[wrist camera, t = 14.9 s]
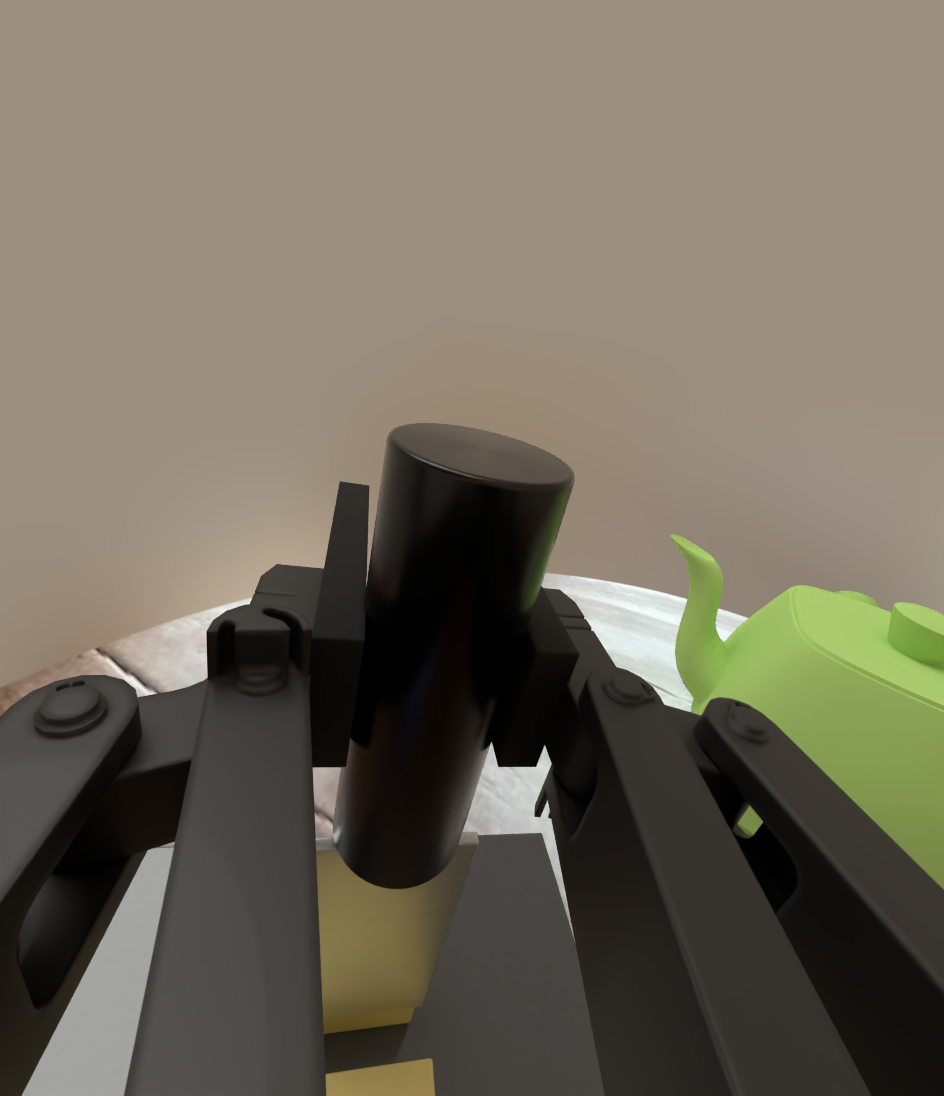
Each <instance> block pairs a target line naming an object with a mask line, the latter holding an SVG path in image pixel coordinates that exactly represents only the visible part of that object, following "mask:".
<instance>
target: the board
mask: <svg viewBox="0 0 944 1096" xmlns="http://www.w3.org/2000/svg"><path fill="white" fill-rule="evenodd" d="M478 840H479V845H478V848H477V851H476V854H475V857H474V859H473V862H472V865H471V868H470V871H469V874H468V877H467V879H466V882H465V885H464V888H463V891H462V894H461V897H460V900H459V902H458V905H457V908H456V911H455V914H454V917H453V920H452V922H451V925H450V928H449V931H448V934H447V937H446V940H445V943H444V945H443V948H442V951H441V954H440V957H439V960H438V963H437V965H436V968H435V971H434V974H433V977H432V980H431V983H430V986H429V988H428V991H427V994H426V997H425V1000H424V1003H423V1006H421V1007H415V1008H414V1011H413V1014H412V1017H411V1020H410V1022H409V1023H403V1024H396V1025H388V1026H381V1027H373V1028H365V1029H358V1030H350V1031H343V1032H335V1033H328V1034H324V1049H325V1073H326V1074H329V1073H336V1072H342V1071H349V1070H356V1069H362V1068H369V1067H375V1066H382V1065H388V1064H395V1063H401V1062H408V1061H415V1060H421V1059H428V1058H430V1059H432V1061H433V1073H434V1086H435V1096H605V1094H604V1089H603V1084H602V1079H601V1073H600V1068H599V1063H598V1058H597V1053H596V1047H595V1042H594V1037H593V1032H592V1027H591V1021H590V1016H589V1011H588V1006H587V1001H586V996H585V990H584V985H583V980H582V975H581V970H580V964H579V959H578V954H577V949H576V944H575V941H574V938H573V934H572V931H571V928H570V925H569V921H568V918H567V915H566V911H565V908H564V905H563V902H562V898H561V895H560V892H559V888H558V885H557V882H556V879H555V875H554V872H553V869H552V865H551V862H550V859H549V856H548V852H547V849H546V846H545V842H544V839H543V836H542V833H528V834H501V835H478ZM173 850H174V847H156V848H153V849H150V850H148V851H147V853H146V855H145V857H144V859H143V861H142V863H141V865H140V866H139V868H138V870H137V872H136V874H135V876H134V878H133V880H132V882H131V884H130V886H129V888H128V890H127V892H126V894H125V896H124V898H123V900H122V901H121V903H120V905H119V907H118V909H117V911H116V913H115V915H114V917H113V919H112V921H111V923H110V925H109V927H108V929H107V931H106V933H105V935H104V937H103V938H102V940H101V942H100V944H99V946H98V948H97V950H96V952H95V954H94V956H93V958H92V960H91V962H90V964H89V966H88V968H87V970H86V972H85V974H84V975H83V977H82V979H81V981H80V983H79V985H78V987H77V989H76V991H75V993H74V995H73V997H72V999H71V1001H70V1003H69V1005H68V1007H67V1009H66V1011H65V1012H64V1014H63V1016H62V1018H61V1020H60V1022H59V1024H58V1026H57V1028H56V1030H55V1032H54V1034H53V1036H52V1038H51V1040H50V1042H49V1044H48V1046H47V1048H46V1049H45V1051H44V1053H43V1055H42V1057H41V1059H40V1061H39V1063H38V1065H37V1067H36V1069H35V1071H34V1073H33V1075H32V1077H31V1079H30V1081H29V1083H28V1085H27V1086H26V1088H25V1090H24V1092H23V1094H22V1096H124V1092H125V1087H126V1082H127V1077H128V1072H129V1067H130V1062H131V1057H132V1053H133V1048H134V1043H135V1038H136V1033H137V1028H138V1023H139V1018H140V1013H141V1008H142V1003H143V998H144V993H145V988H146V983H147V978H148V973H149V968H150V963H151V959H152V954H153V949H154V944H155V939H156V934H157V929H158V924H159V919H160V914H161V909H162V904H163V899H164V894H165V889H166V884H167V879H168V874H169V869H170V865H171V860H172V855H173Z"/></svg>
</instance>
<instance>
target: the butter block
mask: <svg viewBox="0 0 944 1096" xmlns="http://www.w3.org/2000/svg"><path fill="white" fill-rule="evenodd" d="M326 1096H435V1086H434V1073H433V1061H432V1059H430V1058H428V1059H421V1060H415V1061H408V1062H401V1063H395V1064H388V1065H382V1066H375V1067H369V1068H362V1069H356V1070H349V1071H342V1072H336V1073H329V1074H326Z"/></svg>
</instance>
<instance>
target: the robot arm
mask: <svg viewBox="0 0 944 1096" xmlns="http://www.w3.org/2000/svg"><path fill="white" fill-rule="evenodd" d="M368 510H369V486H368V485H361V484H354V483H347V482H340V484H339V489H338V495H337V500H336V506H335V511H334V517H333V522H332V528H331V533H330V539H329V544H328V550H327V555H326V561H325V566H324V569H321V568H310V567H300V566H289V565H280V564H277V565H275V566H274V567H273V568H271V569H270V570H269V571H268V572H266V573H265V574H263V575H262V576H261V578H260V580H259V583H258V586H257V588H256V590H255V594H254V595H253V598H252V600H251V603H250V604H249V605H243V606H240V607H237V608H234V609H231V610H228V611H226V612H224V613H223V614H222V615H220V616H219V617H217V618H216V619H214V620H213V622H212V623H211V625H210V627H209V628H208V630H207V668H208V678H207V679H205V680H204V681H202V682H199V683H197V684H194V685H192V686H190V687H187V688H183V689H179V690H175V691H170V692H165V693H159V694H154V695H148V696H143V697H137V694H136V690H135V689H134V688H133V687H132V686H131V685H129V684H128V683H127V682H126V681H124V680H122V679H118V678H114V677H111V676H107V675H81V676H77V677H72V678H68V679H64V680H59V681H55V682H53V683H50V684H48V685H46V686H44V687H41V688H39V689H37V690H34V691H32V692H30V693H29V694H27V695H26V696H25V697H23V698H22V699H21V700H19V701H18V702H16V703H15V704H14V705H12V706H11V707H10V708H9V709H8V710H7V711H6V712H5V713H4V714H2V715H1V716H0V1096H22V1094H23V1092H24V1090H25V1088H26V1086H27V1085H28V1083H29V1081H30V1079H31V1077H32V1075H33V1073H34V1071H35V1069H36V1067H37V1065H38V1063H39V1061H40V1059H41V1057H42V1055H43V1053H44V1051H45V1049H46V1048H47V1046H48V1044H49V1042H50V1040H51V1038H52V1036H53V1034H54V1032H55V1030H56V1028H57V1026H58V1024H59V1022H60V1020H61V1018H62V1016H63V1014H64V1012H65V1011H66V1009H67V1007H68V1005H69V1003H70V1001H71V999H72V997H73V995H74V993H75V991H76V989H77V987H78V985H79V983H80V981H81V979H82V977H83V975H84V974H85V972H86V970H87V968H88V966H89V964H90V962H91V960H92V958H93V956H94V954H95V952H96V950H97V948H98V946H99V944H100V942H101V940H102V938H103V937H104V935H105V933H106V931H107V929H108V927H109V925H110V923H111V921H112V919H113V917H114V915H115V913H116V911H117V909H118V907H119V905H120V903H121V901H122V900H123V898H124V896H125V894H126V892H127V890H128V888H129V886H130V884H131V882H132V880H133V878H134V876H135V874H136V872H137V870H138V868H139V866H140V865H141V863H142V861H143V859H144V857H145V855H146V853H147V851H148V850H150V849H153V848H156V847H159V846H162V845H165V844H168V843H171V842H175V845H174V850H173V855H172V860H171V865H170V869H169V874H168V879H167V884H166V889H165V894H164V899H163V904H162V909H161V914H160V919H159V924H158V929H157V934H156V939H155V944H154V949H153V954H152V959H151V963H150V968H149V973H148V978H147V983H146V988H145V993H144V998H143V1003H142V1008H141V1013H140V1018H139V1023H138V1028H137V1033H136V1038H135V1043H134V1048H133V1053H132V1057H131V1062H130V1067H129V1072H128V1077H127V1082H126V1087H125V1092H124V1096H326V1073H325V1049H324V1026H323V1003H322V979H321V956H320V932H319V909H318V885H317V862H316V838H315V815H314V791H313V768H312V767H346V765H347V758H348V751H349V744H350V737H351V731H352V724H353V717H354V710H355V703H356V697H357V690H358V683H359V676H360V669H361V662H362V656H363V649H364V642H365V610H364V600H365V593H366V578H367V544H368ZM492 744H493V748H494V752H495V756H496V760H497V763H498V767H536V766H537V763H538V760H539V758H540V755H541V753H542V750H543V748H544V745H545V746H546V749H547V752H548V755H549V757H550V760H551V763H552V765H551V767H550V770H549V772H548V775H547V777H546V779H545V782H544V784H543V787H542V789H541V792H540V794H539V797H538V799H537V802H536V804H535V816H534V817H541V814H542V812H543V809H544V807H545V805H546V802H547V800H548V804H549V809H550V813H549V816H548V818H551V819H552V824H553V830H554V835H555V840H556V845H557V850H558V855H559V861H560V866H561V871H562V876H563V881H564V887H565V892H566V897H567V902H568V907H569V913H570V918H571V923H572V928H573V933H574V938H575V944H576V949H577V954H578V959H579V964H580V970H581V975H582V980H583V985H584V990H585V996H586V1001H587V1006H588V1011H589V1016H590V1021H591V1027H592V1032H593V1037H594V1042H595V1047H596V1053H597V1058H598V1063H599V1068H600V1073H601V1079H602V1084H603V1089H604V1094H605V1096H944V889H943V888H942V887H941V886H940V885H939V884H938V883H937V882H936V881H935V880H933V879H932V878H931V877H930V876H929V875H928V874H927V873H926V872H925V871H924V870H923V869H922V868H921V867H920V866H919V865H918V864H917V863H916V862H915V861H914V860H913V859H912V858H911V857H910V856H909V855H908V854H907V853H906V852H905V851H904V850H903V849H902V848H901V847H900V846H899V845H898V844H897V843H896V842H895V841H894V840H893V839H892V838H891V837H890V836H889V835H888V834H887V833H886V832H885V831H884V830H883V829H882V828H881V827H880V826H879V825H878V824H877V823H876V822H874V821H873V820H872V819H871V818H870V817H869V816H868V815H867V814H866V813H865V812H864V811H863V810H862V809H861V808H860V807H859V806H858V805H857V804H856V803H855V802H854V801H853V800H852V799H851V798H850V797H849V796H848V795H847V794H846V793H845V792H844V791H843V790H842V789H841V788H840V787H839V786H838V785H837V784H836V783H835V782H834V781H833V780H832V779H831V778H830V777H829V776H828V775H827V774H826V773H825V772H824V771H823V770H822V769H821V768H820V767H819V766H818V765H817V764H816V763H814V762H813V761H812V760H811V759H810V758H809V757H808V756H807V755H806V754H805V753H804V752H803V751H802V750H801V749H800V748H799V747H798V746H797V745H796V744H795V743H794V742H793V741H792V740H791V739H790V738H789V737H788V736H787V735H786V734H785V733H784V732H783V731H782V730H781V729H780V728H779V727H778V726H777V725H776V724H775V723H774V722H772V721H771V720H770V719H769V718H768V717H766V716H765V715H764V714H763V713H761V712H760V711H758V710H756V709H754V708H753V707H752V706H750V705H748V704H746V703H744V702H740V701H738V700H734V699H731V698H723V697H718V698H714V699H711V700H710V701H709V703H708V704H707V706H706V708H705V709H704V711H703V713H702V715H698V714H694V713H691V712H687V711H684V710H680V709H677V708H673V707H670V706H667V705H664V704H663V702H662V700H661V698H660V696H659V695H658V694H657V692H656V691H655V690H654V688H653V687H652V686H651V685H650V684H648V683H647V682H646V681H645V680H643V679H642V678H641V677H639V676H637V675H635V674H633V673H631V672H630V671H628V670H625V669H621V668H617V667H616V666H615V664H614V663H613V661H612V660H611V658H610V656H609V655H608V653H607V652H606V650H605V649H604V647H603V645H602V644H601V642H600V641H599V639H598V638H597V636H596V634H595V633H594V631H591V626H590V625H589V623H588V622H587V620H586V619H584V615H583V614H582V612H581V611H580V609H579V608H578V606H577V604H576V603H575V602H574V601H573V600H572V599H570V598H569V597H568V596H567V595H566V594H564V593H563V592H562V591H561V590H557V589H547V588H543V587H542V586H541V588H540V591H539V594H538V597H537V600H536V603H535V607H534V610H533V613H532V616H531V619H530V622H529V625H528V628H527V632H526V635H525V638H524V641H523V644H522V647H521V650H520V653H519V657H518V660H517V663H516V666H515V669H514V672H513V675H512V678H511V682H510V685H509V688H508V691H507V694H506V697H505V700H504V703H503V706H502V710H501V713H500V716H499V719H498V722H497V725H496V728H495V731H494V735H493V738H492ZM749 806H751V808H752V809H753V810H754V811H755V812H756V814H757V815H758V816H759V817H760V819H761V820H762V821H763V823H762V824H761V826H760V827H759V828H758V830H757V831H756V832H755V834H754V835H753V836H750V835H748V834H746V833H745V832H744V831H743V830H742V829H741V828H740V827H739V826H738V824H737V823H738V822H739V821H740V819H741V818H742V816H743V815H744V813H745V812H746V810H747V809H748V808H749Z"/></svg>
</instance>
